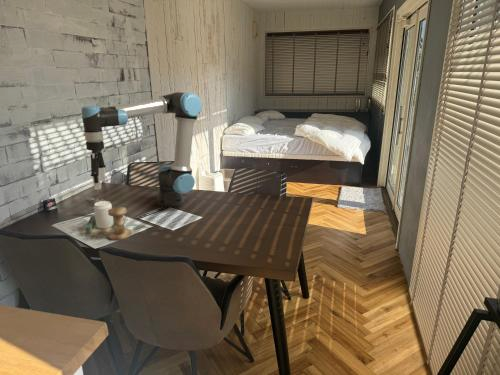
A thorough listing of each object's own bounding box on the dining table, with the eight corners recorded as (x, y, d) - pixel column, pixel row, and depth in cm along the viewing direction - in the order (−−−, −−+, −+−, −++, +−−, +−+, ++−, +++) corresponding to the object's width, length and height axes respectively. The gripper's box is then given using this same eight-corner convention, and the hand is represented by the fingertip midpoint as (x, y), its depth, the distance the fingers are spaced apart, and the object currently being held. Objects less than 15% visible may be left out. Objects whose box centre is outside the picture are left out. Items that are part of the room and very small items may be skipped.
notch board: (124, 220, 182) (123, 212, 180) (120, 232, 167) (120, 224, 166) (91, 222, 178) (90, 215, 177) (85, 236, 163) (84, 227, 162)
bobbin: (132, 230, 170) (129, 205, 166) (130, 239, 161) (127, 213, 157) (110, 232, 168) (107, 207, 164) (107, 241, 158) (104, 214, 154)
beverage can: (103, 230, 166) (100, 207, 162) (93, 227, 170) (89, 204, 167) (117, 225, 173) (114, 202, 169) (107, 221, 177) (104, 199, 173)
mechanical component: (104, 218, 184) (102, 200, 181) (87, 216, 186) (84, 199, 183) (107, 216, 187) (105, 198, 184) (90, 214, 189) (88, 197, 186)
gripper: (91, 136, 169) (96, 178, 176) (79, 146, 146) (86, 193, 153) (107, 136, 171) (112, 177, 177) (98, 145, 148) (104, 192, 154)
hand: (100, 184), depth 165 cm, fingers open, 13 cm apart
